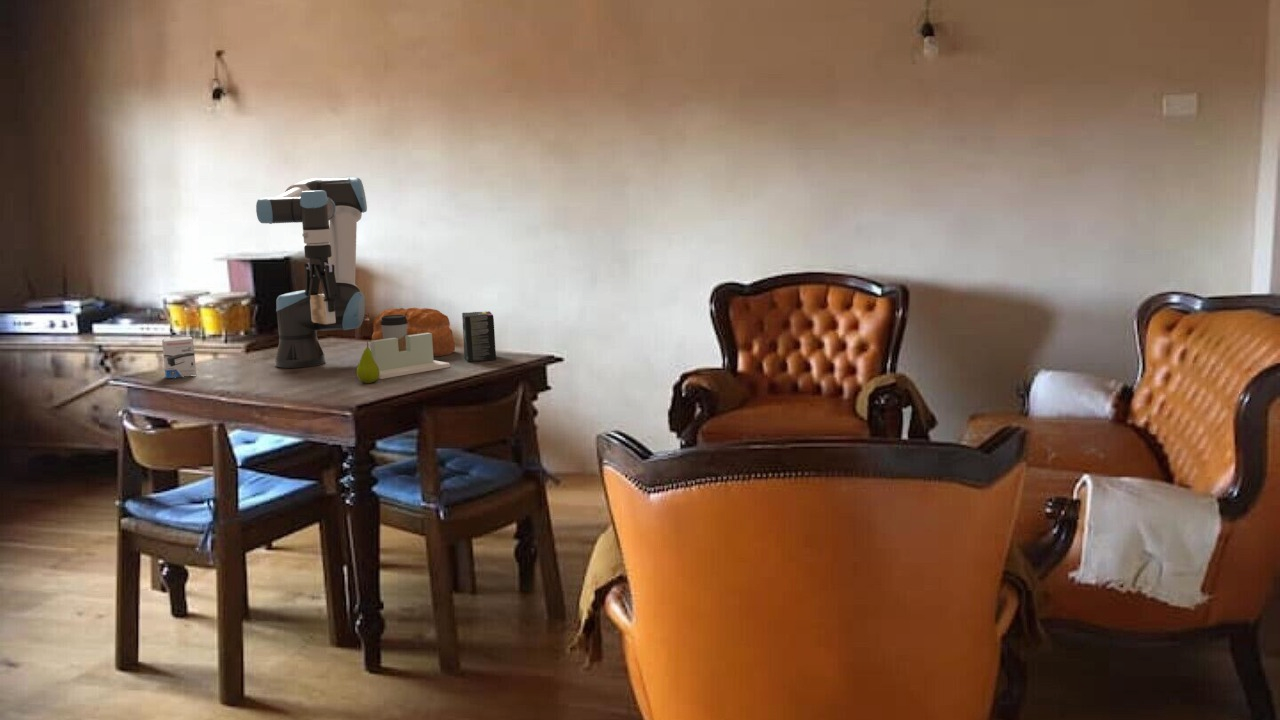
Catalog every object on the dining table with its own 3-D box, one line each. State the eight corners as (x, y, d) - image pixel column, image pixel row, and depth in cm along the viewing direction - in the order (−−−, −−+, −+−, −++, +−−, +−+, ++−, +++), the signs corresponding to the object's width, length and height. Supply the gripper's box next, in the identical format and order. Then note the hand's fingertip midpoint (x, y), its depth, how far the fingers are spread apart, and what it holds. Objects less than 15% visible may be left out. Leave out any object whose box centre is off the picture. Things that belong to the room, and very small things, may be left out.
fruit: (359, 385, 313) (356, 343, 311) (356, 381, 318) (352, 341, 316) (382, 383, 315) (379, 341, 313) (378, 379, 321) (375, 339, 319)
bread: (389, 349, 376) (386, 304, 374) (459, 351, 368) (456, 305, 365) (367, 356, 363) (364, 309, 361) (439, 358, 355) (436, 311, 352)
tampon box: (496, 360, 348) (494, 314, 345) (467, 362, 346) (464, 316, 343) (492, 355, 358) (490, 310, 356) (464, 357, 356) (461, 312, 353)
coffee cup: (404, 366, 342) (400, 318, 339) (379, 365, 344) (375, 318, 341) (414, 361, 350) (411, 314, 347) (390, 361, 352) (386, 314, 349)
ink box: (166, 379, 331) (162, 340, 329) (165, 377, 335) (161, 338, 333) (197, 376, 335) (193, 338, 333) (195, 373, 339) (191, 336, 337)
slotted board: (356, 373, 332) (354, 340, 330) (424, 362, 348) (422, 330, 346) (381, 378, 322) (378, 344, 320) (449, 367, 338) (447, 334, 336)
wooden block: (312, 322, 326) (310, 295, 324) (321, 320, 328) (319, 294, 326) (325, 324, 320) (323, 297, 318) (335, 323, 322) (333, 295, 320)
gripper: (288, 243, 324) (295, 320, 328) (323, 246, 310) (329, 326, 314) (312, 241, 329) (318, 317, 334) (347, 244, 315) (353, 323, 319)
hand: (323, 321), depth 324 cm, fingers closed on wooden block, 8 cm apart
